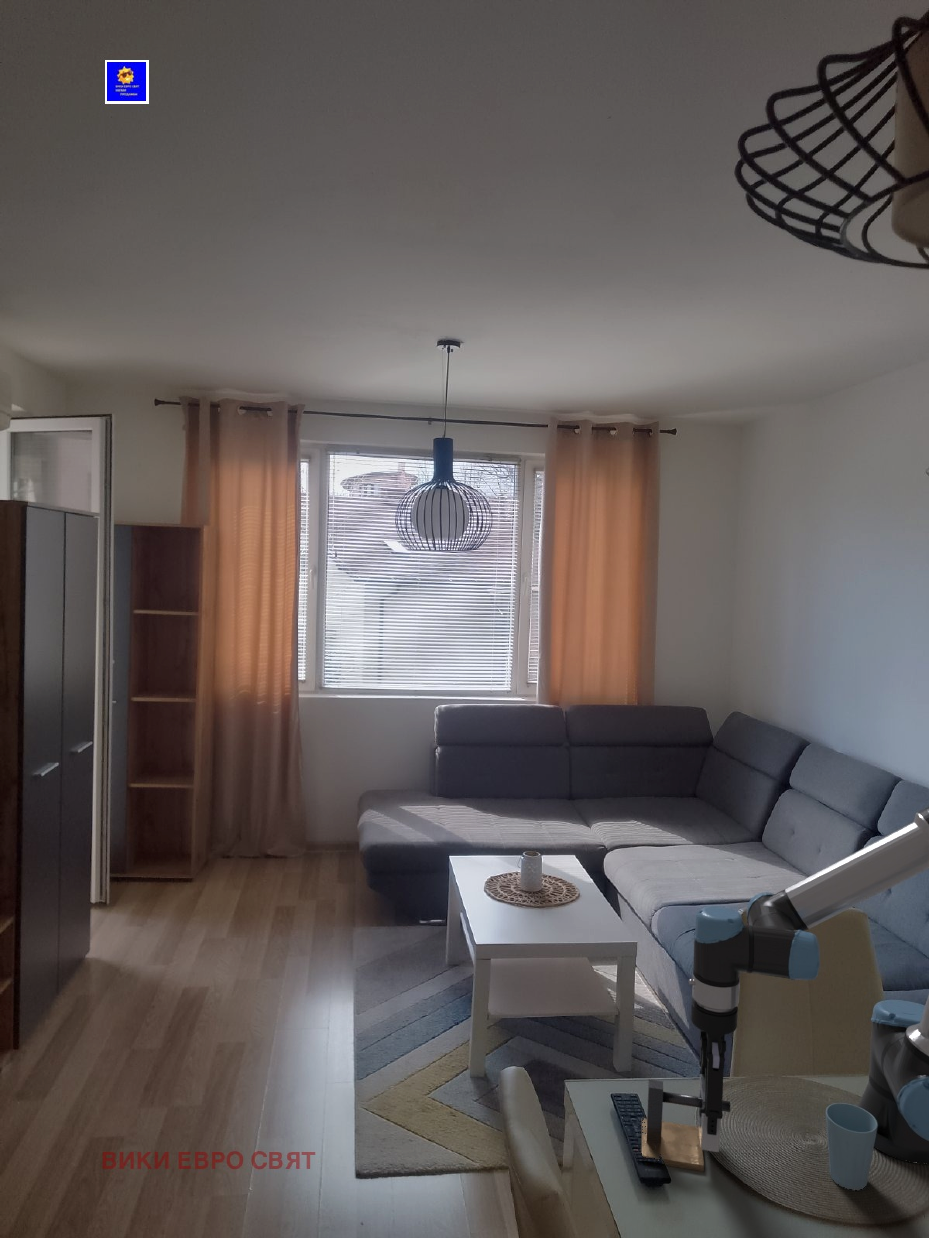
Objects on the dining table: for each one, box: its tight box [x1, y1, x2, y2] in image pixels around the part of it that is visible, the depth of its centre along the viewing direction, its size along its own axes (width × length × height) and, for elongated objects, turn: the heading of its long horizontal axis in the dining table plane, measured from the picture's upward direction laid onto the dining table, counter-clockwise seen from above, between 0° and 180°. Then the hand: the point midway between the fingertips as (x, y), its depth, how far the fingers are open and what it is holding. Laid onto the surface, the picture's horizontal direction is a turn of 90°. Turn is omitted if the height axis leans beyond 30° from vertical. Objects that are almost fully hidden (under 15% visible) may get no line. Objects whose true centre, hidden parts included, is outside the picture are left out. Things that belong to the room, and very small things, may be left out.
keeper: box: [641, 1079, 731, 1172], centre depth 145 cm, size 14×10×10 cm
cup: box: [825, 1102, 878, 1191], centre depth 139 cm, size 8×8×10 cm
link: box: [697, 1073, 705, 1149], centre depth 145 cm, size 2×8×8 cm, turn 168°
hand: (708, 1132), depth 145 cm, fingers closed on link, 8 cm apart
